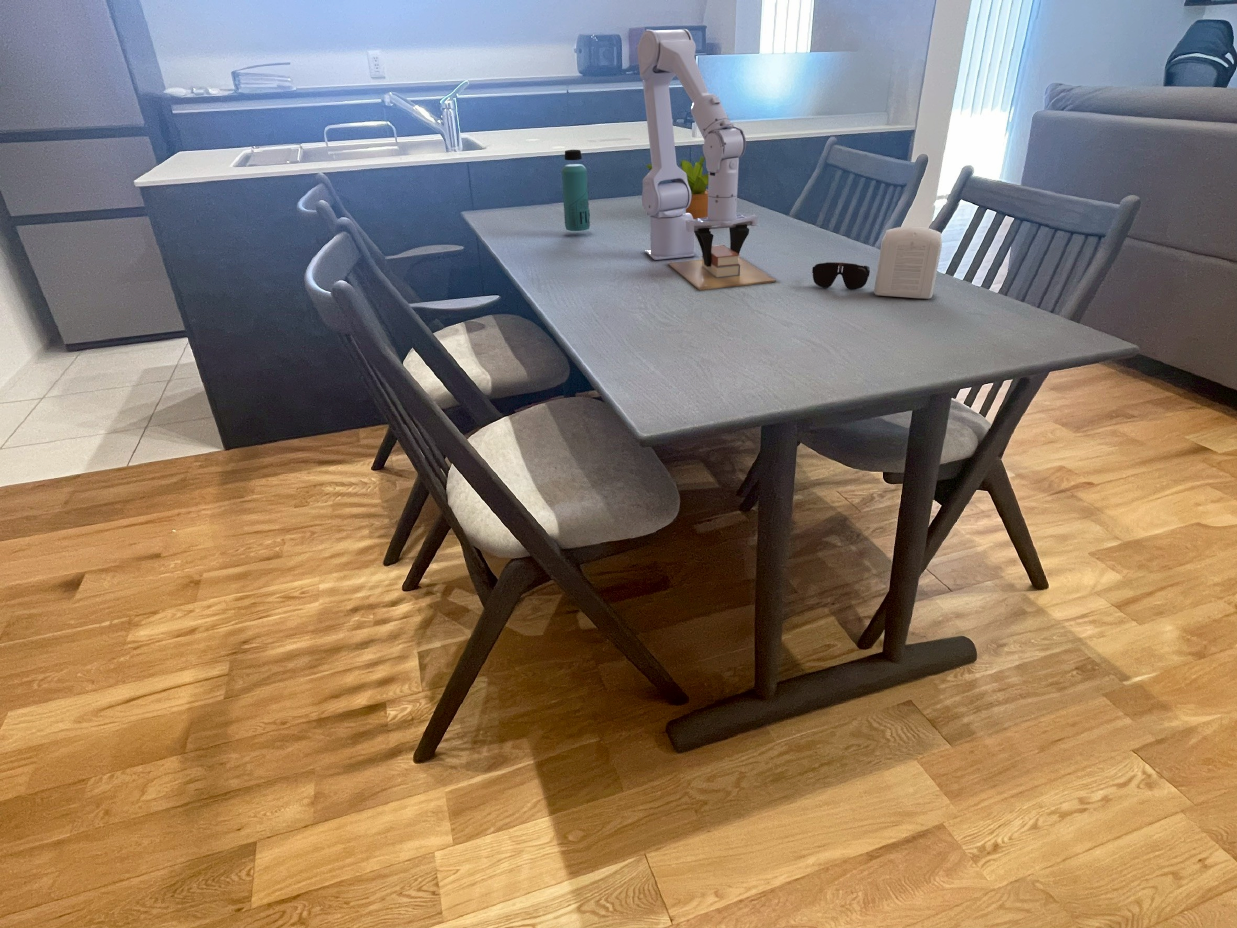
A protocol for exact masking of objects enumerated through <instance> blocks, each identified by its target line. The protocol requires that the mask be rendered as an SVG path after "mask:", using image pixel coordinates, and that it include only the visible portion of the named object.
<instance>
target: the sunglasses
mask: <svg viewBox="0 0 1237 928" xmlns="http://www.w3.org/2000/svg"><path fill="white" fill-rule="evenodd" d="M811 274H812V279H813V283H814V284H815V285H816V286H818V287H820V288H823V289H828V288H831V286H832V285H833V284H834V282H835V280H836V279H837V278H838V276H839V275H840V276H841V278H842V280H843V281H842V282H843V284H844V286H845V288H846V289H848V290H849V291H854V290H859V289H862V288H863V287H865V286H866V284H867V282H868V279H869V277H870V274H871V270H870V266H868V265H860V264H857V263H849V262H835V261H833V262H832V261H831V262H828V261H827V262H826V261H825V262H820V263H816V264H815V265H814V266H812V272H811Z"/></svg>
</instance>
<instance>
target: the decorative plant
mask: <svg viewBox="0 0 1237 928" xmlns="http://www.w3.org/2000/svg"><path fill="white" fill-rule="evenodd" d="M726 115H727V117H728V118H729V114H726ZM705 161H706V159H705V156H704V155H703V156H700V157H699V160H698V161H696V162H695V164H694V166H693V164H692V163H691V162H690V161H688V160H685V159H684V160H682V159H681V161H680V165H679V167H681V170H683V171H684V172H685V173H686V174H687V181H688V185H689V187H690V189H691V202H690V205H689V207H688V208H687V209H686V213H690V214H691V215H692V217H693V219H699V218H704V217H708V190H707V187H708V181H709V173H706V174H703V170H704V167H703V165H704V162H705ZM645 167H646V168H647V169H648V171H651V170H652V164H646V165H645Z"/></svg>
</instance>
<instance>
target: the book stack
mask: <svg viewBox="0 0 1237 928" xmlns="http://www.w3.org/2000/svg"><path fill="white" fill-rule="evenodd" d="M701 255H702V256H701V260H702V268H704V269H705V270H706V271H708V272H709V273H710V274H712V275H713V276H714V277H716V278H722V277H731V276H740V264H738V258H739V257H740V256H741V255H740V253H739V254H738V253H736V252H734V251H733V250H731V249H730V247H728V246H726V245H725V244H719V245H712V248H711V267H707V266H706V265H704V259H703V254H702V253H701Z"/></svg>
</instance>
